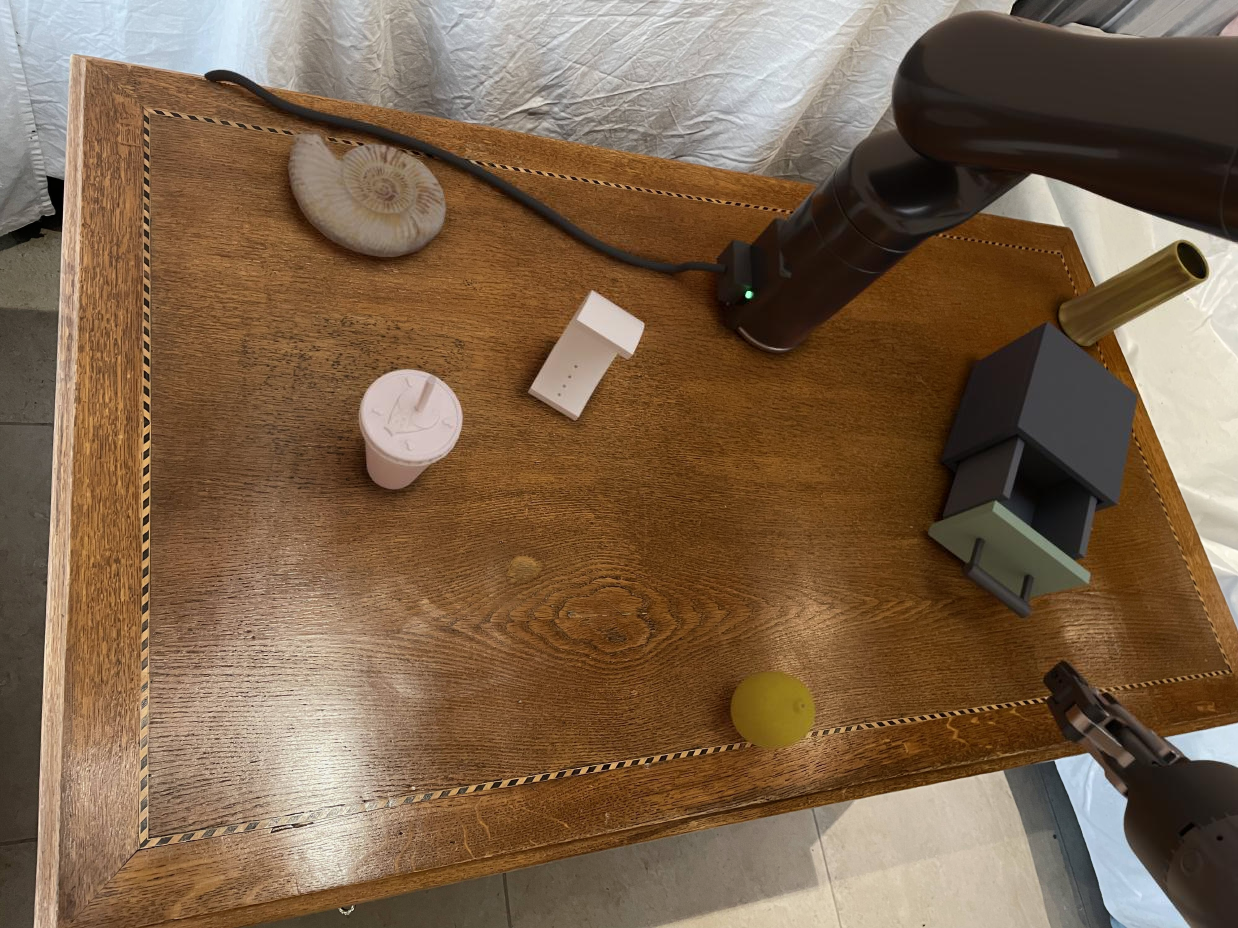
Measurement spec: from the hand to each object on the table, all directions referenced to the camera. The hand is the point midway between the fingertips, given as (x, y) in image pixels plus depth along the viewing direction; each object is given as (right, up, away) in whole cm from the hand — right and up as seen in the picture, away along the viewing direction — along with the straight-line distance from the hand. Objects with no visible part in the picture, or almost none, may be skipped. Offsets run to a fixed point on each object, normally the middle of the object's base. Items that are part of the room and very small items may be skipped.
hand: (1077, 687), depth 56 cm
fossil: (-53, +37, +9) cm, 65 cm away
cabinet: (+8, +18, +28) cm, 34 cm away
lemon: (-23, -4, +6) cm, 24 cm away
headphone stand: (-37, +23, +10) cm, 45 cm away
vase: (+23, +33, +41) cm, 58 cm away
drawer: (+3, +9, +22) cm, 24 cm away
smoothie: (-49, +16, +2) cm, 52 cm away
